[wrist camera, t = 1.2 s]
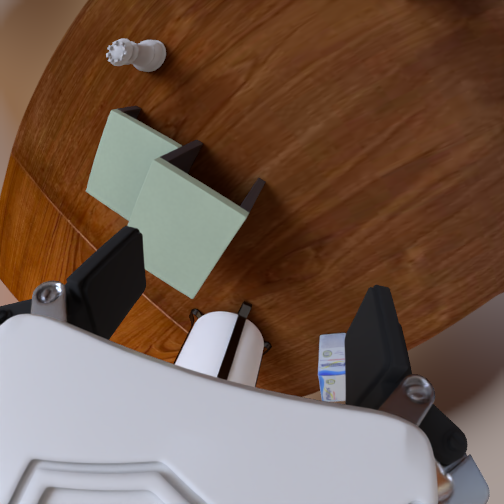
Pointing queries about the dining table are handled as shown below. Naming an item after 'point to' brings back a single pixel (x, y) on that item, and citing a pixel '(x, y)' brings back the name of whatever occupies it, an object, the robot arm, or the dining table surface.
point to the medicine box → (332, 367)
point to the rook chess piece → (137, 54)
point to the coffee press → (224, 346)
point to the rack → (165, 200)
